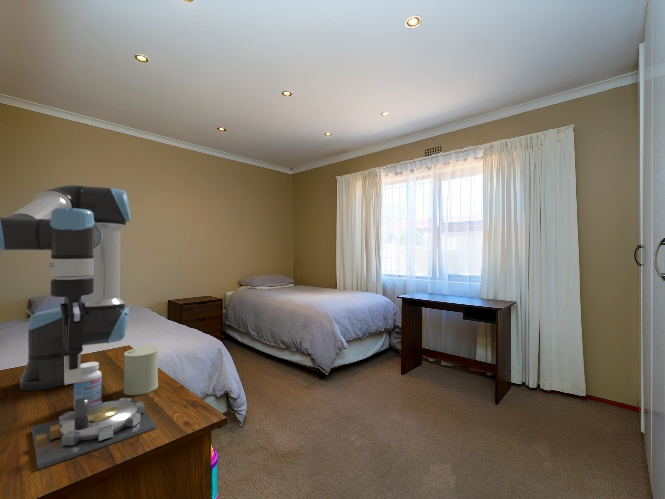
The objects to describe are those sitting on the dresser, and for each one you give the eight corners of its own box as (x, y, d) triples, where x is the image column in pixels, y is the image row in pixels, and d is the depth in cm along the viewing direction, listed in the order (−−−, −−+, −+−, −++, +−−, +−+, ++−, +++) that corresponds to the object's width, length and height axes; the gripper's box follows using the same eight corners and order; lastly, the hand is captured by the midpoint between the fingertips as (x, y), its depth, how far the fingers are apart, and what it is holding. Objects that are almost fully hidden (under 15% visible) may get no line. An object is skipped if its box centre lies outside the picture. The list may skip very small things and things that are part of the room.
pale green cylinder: (127, 385, 102) (127, 347, 102) (160, 381, 105) (160, 344, 105) (119, 397, 93) (120, 355, 93) (155, 392, 96) (156, 352, 97)
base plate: (31, 431, 75) (31, 422, 75) (134, 401, 90) (134, 394, 90) (37, 470, 62) (37, 458, 62) (156, 427, 77) (156, 418, 77)
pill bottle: (86, 412, 84) (86, 369, 85) (67, 409, 86) (67, 367, 86) (107, 401, 90) (107, 361, 91) (89, 399, 92) (89, 360, 92)
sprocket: (26, 443, 68) (26, 406, 68) (93, 404, 86) (93, 374, 86) (108, 446, 67) (109, 408, 68) (158, 405, 85) (159, 376, 86)
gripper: (47, 276, 74) (47, 378, 75) (54, 281, 65) (53, 397, 65) (88, 274, 80) (87, 369, 80) (99, 278, 71) (98, 386, 71)
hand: (72, 382), depth 73 cm, fingers closed
